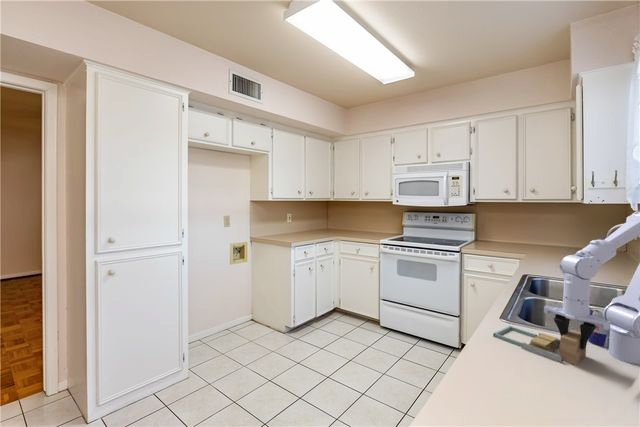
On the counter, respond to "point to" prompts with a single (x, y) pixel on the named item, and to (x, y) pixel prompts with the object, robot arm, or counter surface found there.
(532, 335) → the tray
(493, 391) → the counter surface
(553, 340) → the brass chip
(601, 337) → the energy drink
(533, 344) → the brass chip
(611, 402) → the counter surface
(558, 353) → the slot plate
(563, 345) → the tan rectangular block
